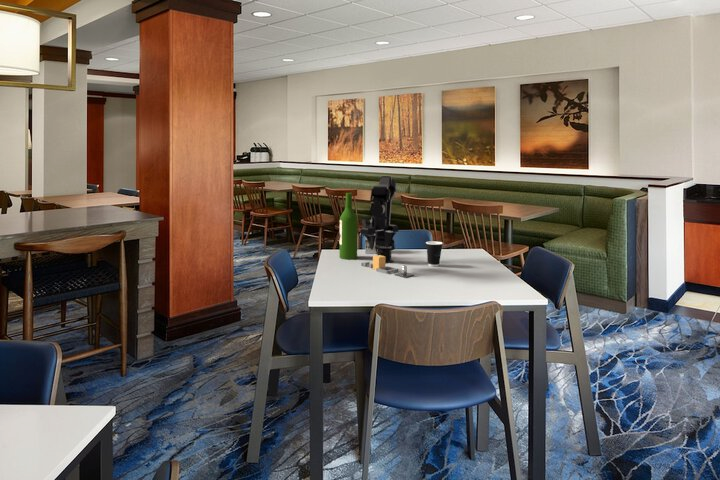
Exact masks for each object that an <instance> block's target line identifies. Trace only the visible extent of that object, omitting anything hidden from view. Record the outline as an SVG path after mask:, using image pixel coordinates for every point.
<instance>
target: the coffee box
mask: <svg viewBox="0 0 720 480" xmlns="http://www.w3.org/2000/svg"><path fill="white" fill-rule="evenodd" d="M374 235H376V237H377V232H375V234H374ZM376 237H375V238H376ZM364 238H365V240H364V253H365V254H373V255H374V254H375V255H377V253H378V249H376V247H375V243H374V248H373V250H371V249H370V246H369V243H368V240H367V238H366V237H365V236H364Z"/></svg>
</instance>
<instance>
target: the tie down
mask: <svg viewBox="0 0 720 480" xmlns="http://www.w3.org/2000/svg"><path fill="white" fill-rule="evenodd" d="M361 266H362V267H364V268H365V267H366V268H369V269H372V270H375V271H376V272H378V273H382V274H386V275H388V274H393V273H394V274H395V273H400V272H399V271H400V270H399V268H396V267H392V266H388V265H386V263H385V256H381V255H377V254H376V255H373V256H372V263H370V261H365V262H361Z"/></svg>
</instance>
